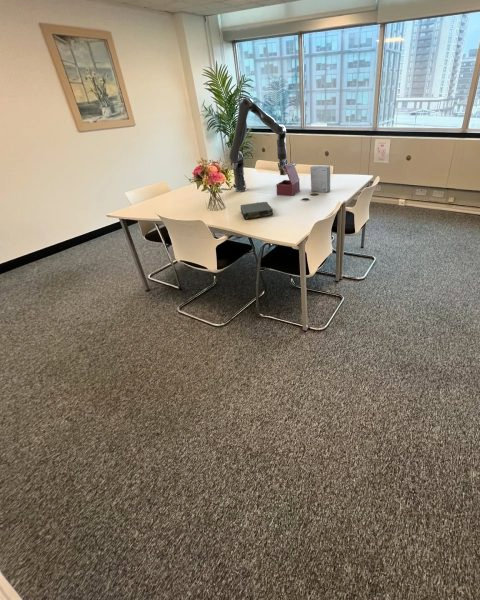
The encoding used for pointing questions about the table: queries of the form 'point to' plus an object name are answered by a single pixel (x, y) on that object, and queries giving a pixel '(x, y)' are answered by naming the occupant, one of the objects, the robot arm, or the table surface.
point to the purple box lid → (292, 173)
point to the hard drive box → (320, 178)
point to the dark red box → (287, 188)
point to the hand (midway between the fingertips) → (283, 174)
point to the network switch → (256, 210)
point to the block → (284, 171)
